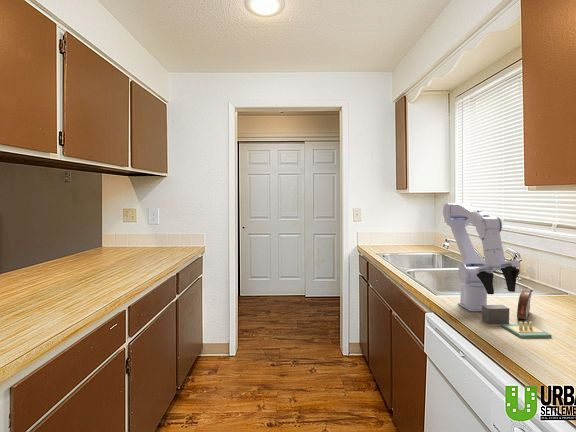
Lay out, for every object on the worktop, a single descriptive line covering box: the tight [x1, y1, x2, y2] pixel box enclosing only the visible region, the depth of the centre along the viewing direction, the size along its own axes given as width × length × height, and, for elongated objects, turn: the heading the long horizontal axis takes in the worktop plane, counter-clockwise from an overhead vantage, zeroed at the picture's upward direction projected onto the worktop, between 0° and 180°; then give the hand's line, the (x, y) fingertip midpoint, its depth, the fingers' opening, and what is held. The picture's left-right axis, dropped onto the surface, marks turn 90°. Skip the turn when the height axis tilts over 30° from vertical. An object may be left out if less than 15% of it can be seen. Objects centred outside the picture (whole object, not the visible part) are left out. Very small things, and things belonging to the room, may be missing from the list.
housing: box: [481, 304, 510, 325], centre depth 117 cm, size 4×7×5 cm, turn 90°
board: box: [501, 321, 552, 339], centre depth 108 cm, size 9×9×3 cm
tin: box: [516, 289, 532, 320], centre depth 121 cm, size 15×3×8 cm, turn 141°
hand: (500, 292), depth 113 cm, fingers open, 7 cm apart
